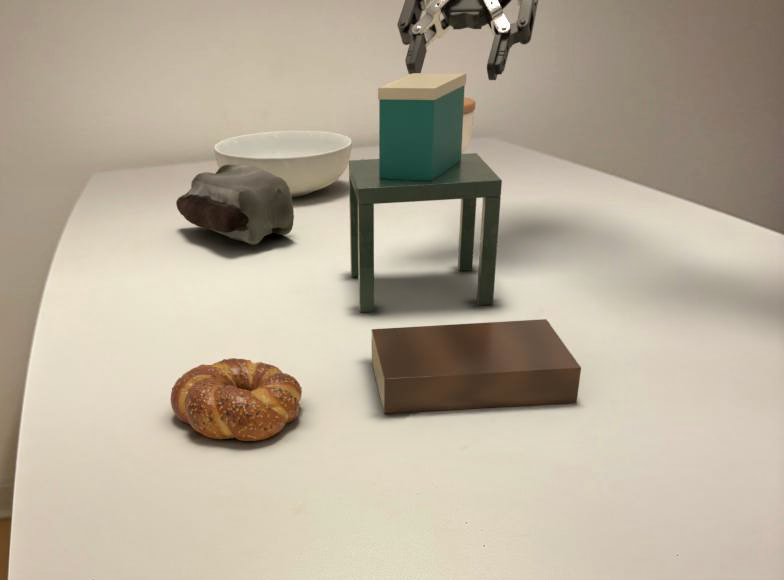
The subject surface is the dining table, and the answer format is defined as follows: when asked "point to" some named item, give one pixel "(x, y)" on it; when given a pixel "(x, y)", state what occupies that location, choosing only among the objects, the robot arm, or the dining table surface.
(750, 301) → the dining table surface
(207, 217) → the rock
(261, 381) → the pretzel
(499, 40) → the robot arm
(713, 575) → the dining table surface
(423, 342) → the low shelf
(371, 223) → the upper shelf
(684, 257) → the dining table surface
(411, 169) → the box
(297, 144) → the serving bowl
